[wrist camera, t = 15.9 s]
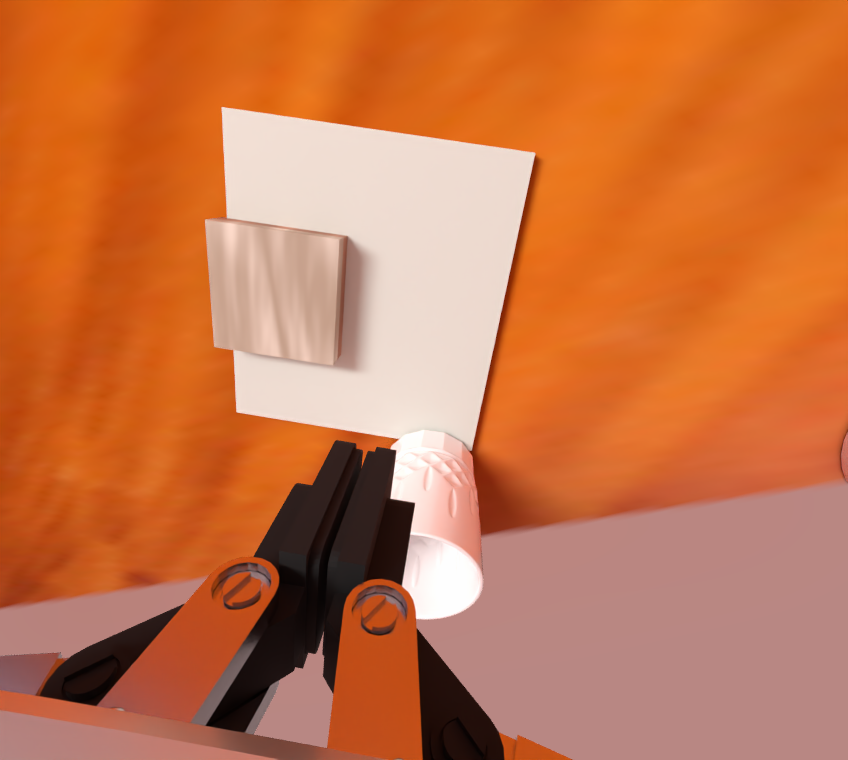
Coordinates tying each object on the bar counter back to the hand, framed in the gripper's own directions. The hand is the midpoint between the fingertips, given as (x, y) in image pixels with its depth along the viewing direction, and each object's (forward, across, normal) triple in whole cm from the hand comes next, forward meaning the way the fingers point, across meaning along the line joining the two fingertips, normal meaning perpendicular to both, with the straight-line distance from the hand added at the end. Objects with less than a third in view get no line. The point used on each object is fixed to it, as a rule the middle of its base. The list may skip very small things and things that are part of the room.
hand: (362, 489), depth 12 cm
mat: (+19, +4, 0) cm, 20 cm away
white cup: (+19, -2, +12) cm, 22 cm away
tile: (+18, +5, 0) cm, 18 cm away
